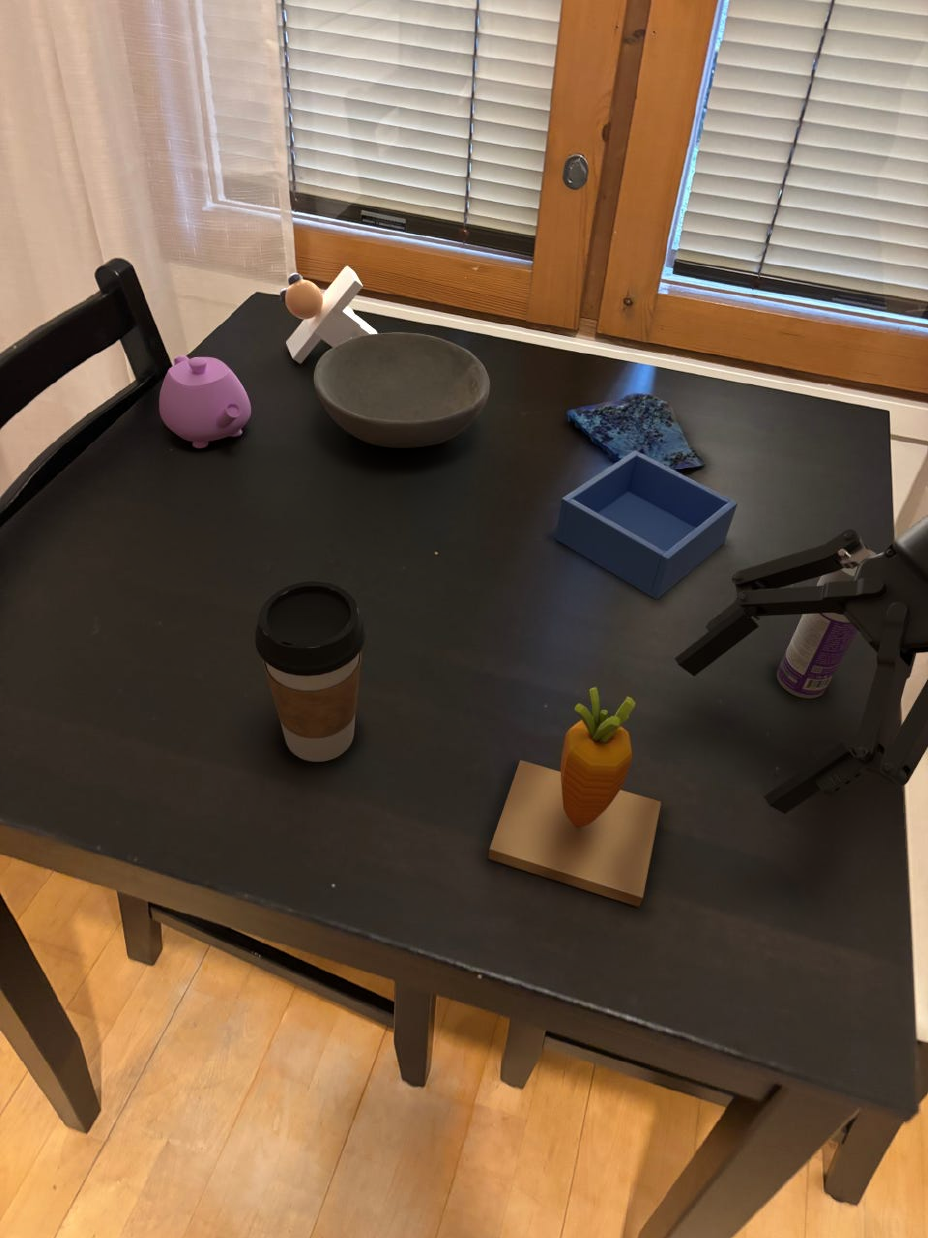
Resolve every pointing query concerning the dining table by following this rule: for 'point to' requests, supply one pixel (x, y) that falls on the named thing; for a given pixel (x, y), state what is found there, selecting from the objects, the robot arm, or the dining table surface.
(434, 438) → the bowl
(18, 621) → the dining table surface
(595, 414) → the blue flat piece
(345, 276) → the figurine
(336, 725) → the coffee cup
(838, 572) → the container
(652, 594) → the bin
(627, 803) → the board
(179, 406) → the teapot
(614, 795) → the carrot
